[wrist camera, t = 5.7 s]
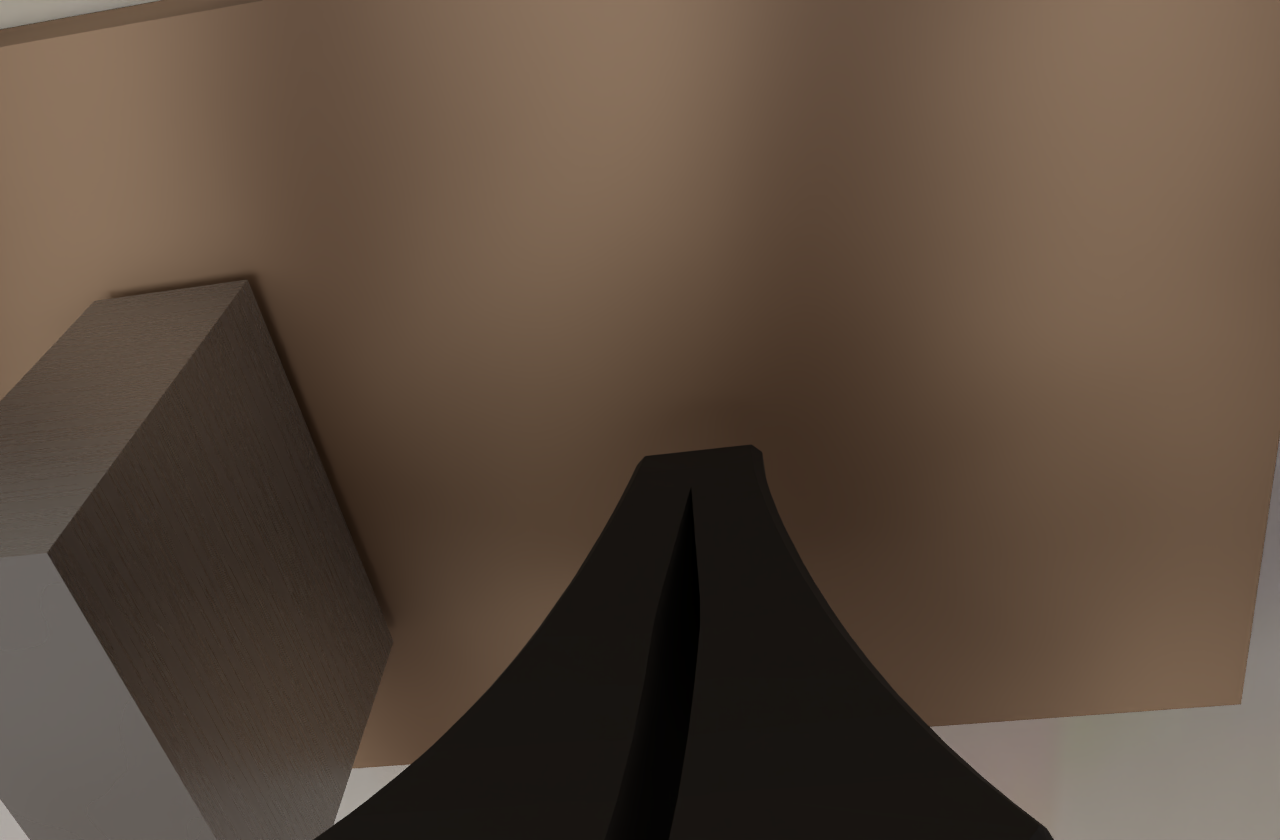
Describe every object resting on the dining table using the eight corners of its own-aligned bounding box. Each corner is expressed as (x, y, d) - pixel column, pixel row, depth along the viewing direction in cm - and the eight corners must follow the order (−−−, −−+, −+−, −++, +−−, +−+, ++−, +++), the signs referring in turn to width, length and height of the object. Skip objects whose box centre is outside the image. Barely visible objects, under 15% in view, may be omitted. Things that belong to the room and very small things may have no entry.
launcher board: (1325, -209, 12) (1370, -197, 11) (1217, 655, 18) (1240, 703, 17) (-592, 135, 15) (-668, 166, 14) (-106, 758, 22) (-139, 804, 21)
